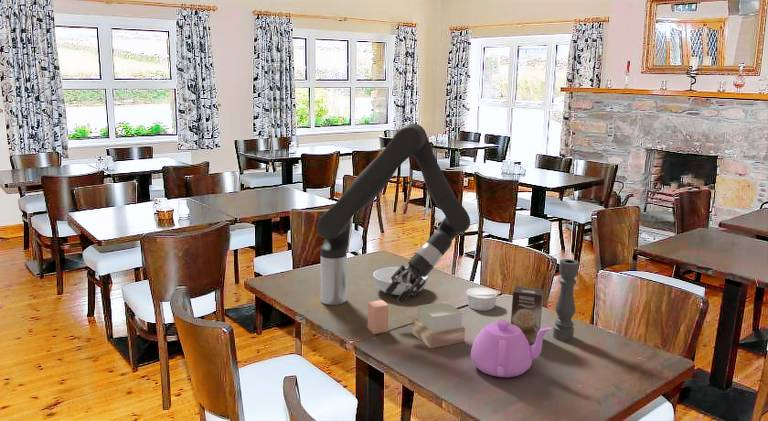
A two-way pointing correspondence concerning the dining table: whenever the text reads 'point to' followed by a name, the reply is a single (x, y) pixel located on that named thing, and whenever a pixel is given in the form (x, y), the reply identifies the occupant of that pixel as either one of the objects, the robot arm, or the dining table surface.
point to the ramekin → (481, 298)
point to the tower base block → (437, 335)
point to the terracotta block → (378, 316)
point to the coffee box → (527, 311)
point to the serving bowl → (390, 280)
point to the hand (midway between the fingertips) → (393, 297)
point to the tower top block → (439, 316)
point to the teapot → (505, 349)
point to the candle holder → (566, 300)
